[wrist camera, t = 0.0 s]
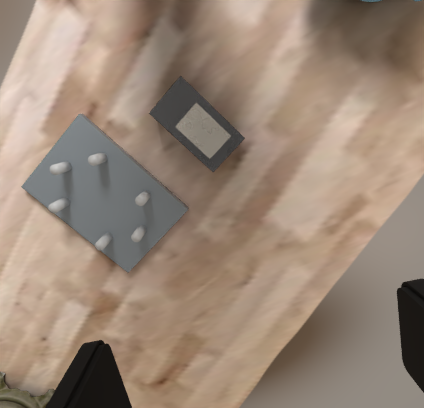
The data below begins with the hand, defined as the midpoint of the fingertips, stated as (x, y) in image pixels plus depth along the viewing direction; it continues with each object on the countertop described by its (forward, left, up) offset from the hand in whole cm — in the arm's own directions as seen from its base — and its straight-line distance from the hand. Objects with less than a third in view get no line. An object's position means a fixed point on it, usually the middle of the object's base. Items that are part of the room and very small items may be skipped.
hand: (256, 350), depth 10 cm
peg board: (-10, -15, -37) cm, 41 cm away
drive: (-7, +2, -38) cm, 38 cm away
